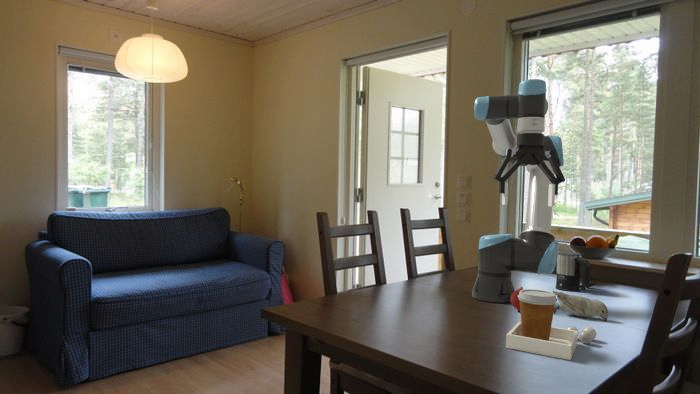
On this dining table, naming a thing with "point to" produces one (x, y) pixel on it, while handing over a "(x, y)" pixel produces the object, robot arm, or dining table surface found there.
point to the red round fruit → (516, 299)
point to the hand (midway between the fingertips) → (527, 205)
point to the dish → (544, 342)
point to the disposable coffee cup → (536, 313)
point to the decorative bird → (581, 305)
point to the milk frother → (572, 272)
